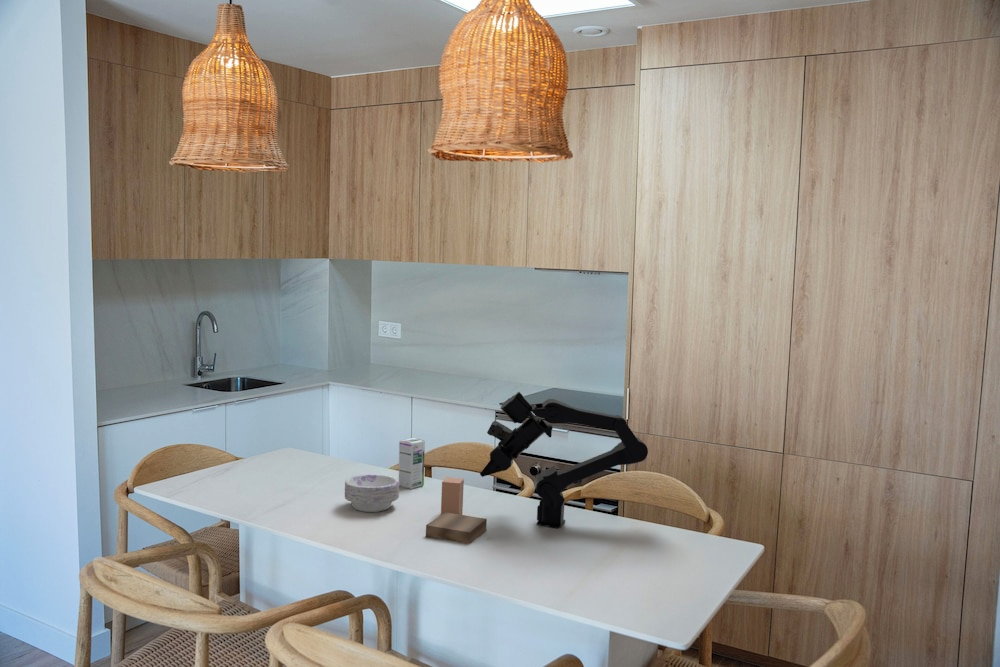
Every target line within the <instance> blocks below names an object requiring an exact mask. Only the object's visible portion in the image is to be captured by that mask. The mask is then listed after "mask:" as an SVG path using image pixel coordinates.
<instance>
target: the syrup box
mask: <svg viewBox="0 0 1000 667" xmlns="http://www.w3.org/2000/svg"><path fill="white" fill-rule="evenodd" d="M398 443H399V444H398V450H399V451H398V480H399V487H402V488H405V489H410V490H413V489H416V488H419V487H423V486H424V485H425V447H426V446H425V440H423V439H420V438H414V437H411V438H407V439H402V440H399V441H398Z"/></svg>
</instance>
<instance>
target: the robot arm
mask: <svg viewBox="0 0 1000 667" xmlns="http://www.w3.org/2000/svg"><path fill="white" fill-rule="evenodd" d="M500 410H501V411H502V412H503V413H504V414H505V415H506V416H507V417H508V419H510V420H511V421H512V422H513V424H517V423H518V424H521V425H519V426H518V427H514V429H510V427H508V426H506V425H504V424H503V423H501V422H499V421H497V420H494V421H492V422H491V424H490V426H489V428H488V430H487V432H486V433H487V435H489V436H492V437H493V438H496V439H497V440H499V442H498V444H497V445H496V446H495V447H494V449H492V450H491V451H490V453H489V461H488V462H487V464H486V465H485V467H484V468H483V469H482V470H481V471H480V473H479V476H480V477H482V478H483V477H486V476H490V475H493V474H497V473H499V472H505V471H507V470H508V469H510V467H512V465H514V460H516V459H517V458H518V457H519V456H520V455H521V454H522V453H523V452H524V451H525V450H527V449H529V448H530V446H531V445H532V444H534V443H535V441H537V440H538V439H539V438H540V437H542V435H544V434H545V435H546V436H547V437H548V438H552V434H553V433H552V431H553V428H554V426H553V424H554V425H555V424H559V425H560V424H562V425H565V424H579V425H584V426H589V427H593V428H599V429H605V430H608V431H609V430H611V431H614V432H615V433H616V434H617V436H618V438H619V439H620V442H619V443H617V445H615V446H614V447H613V448H611V450H608V451H606V452H604V453H600V454H598V455H595V456H594V457H591V458H589V459H586V460H583V461H582V462H579V463H576V464H574V465H572V466H570V467H566V468H564V469H563V468H562V469H557V468H556V466H555V465H552V466H551V467H549V468H547V469H543V470H540V473H538V474H537V475H536V476H535V478H534V483H533V484H534V488H535V491H536V494H537V496H538V497H539V498H541V499H540V500H539V503H538V504H539V505H538V506H537V508H536V509H537V510H536V512H537V513H536V521H537V522H536V525H537V526H544V527H549V528H557V529H559V528H561V527H562V526H563V524H565V522H566V519H564V518H565V517H564V516H565V501H566V499H565V496H564V495H563V491H565V490H566V488H568V487H569V486H570V485H572V484H575V483H577V482H580V481H582V480H585V479H587V478H590V477H593V476H595V475H597V474H599V473H602V472H604V471H607V470H609V469H611V468H614V467H617V466H626V465H633V464H638V463H641V462H644V461H645V460H646V459H647V456H648V454H649V448H648V446H647V445H646V444H645V443H644V442H643V440H642V439H640V438H639V437H637V436H636V435H635V434H634V432H633V430H632V429H631V428H630V426H629V424H628V422H627V420H625V418H624V417H623V416H622V415H620V414H619V415H617V414H616V415H613V414H609V413H604V412H598V411H594V410H593V411H592V410H588V409H584V408H583V409H582V408H577V407H574V406H572V405H570V404H567V403H565V402H563V401H559V400H557V399H554V398H547V399H546V400H544V401H543V402H540V403H530V402H528V400H527V399H526V398H525V397H524V395H523V394H522V393H521V392H520V391H518V392H516V393H515V394H514V395H512V396H511V397H509V398H507V399H506V400H505V401H504V403H502V405H501V406H500ZM544 420H545V421H544ZM546 422H547V423H546ZM548 423H549V424H548Z"/></svg>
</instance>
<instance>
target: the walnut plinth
mask: <svg viewBox="0 0 1000 667" xmlns="http://www.w3.org/2000/svg"><path fill="white" fill-rule="evenodd" d="M487 522H488V519H487V518H483V517H478V516H471V515H465V514H462V515H460V514H453V513H447V512H445V513H443V514H442V515H441V514H440V515H438V516H437V517H436V518H434V519H433V520H432V521H430V522H428V523H427V524H426V525H425V538H426V537H427V538H433V539H439V540H444V541H449V542H456V543H462V544H468V545H470V544H471V543H472V542H473V541H474V540H476V539H477V538H478V537H480V536H481V535H482V534H483V533H484V532H486V531H487Z"/></svg>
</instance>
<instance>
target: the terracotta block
mask: <svg viewBox="0 0 1000 667" xmlns="http://www.w3.org/2000/svg"><path fill="white" fill-rule="evenodd" d="M464 482H465V479H464V478H460V477H447V476H446V477H445V478H444V479H443V480H442V481H441V503H440V505H441V506H440V515H442V514H443V513H445V512H447V513H453V514H460V515H463V511H464V510H463V509H464V505H463V504H464Z"/></svg>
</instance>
